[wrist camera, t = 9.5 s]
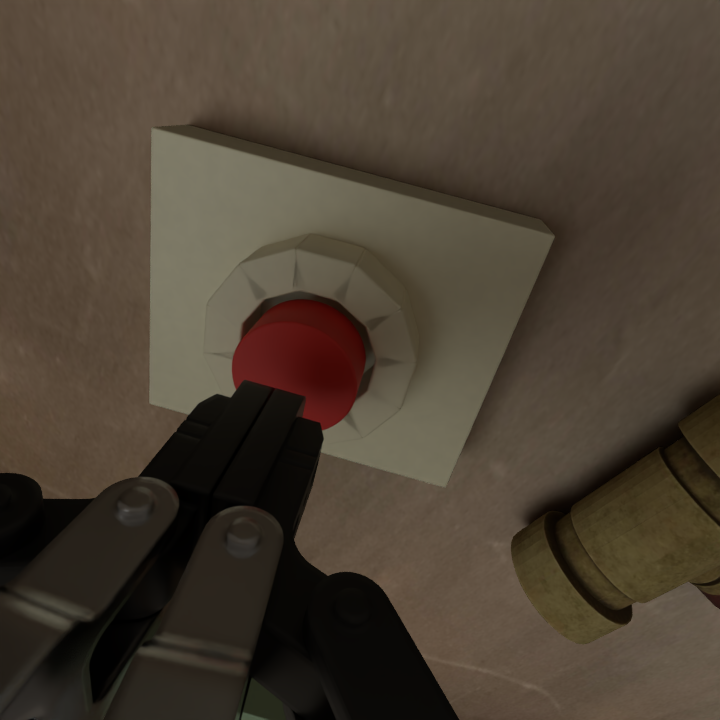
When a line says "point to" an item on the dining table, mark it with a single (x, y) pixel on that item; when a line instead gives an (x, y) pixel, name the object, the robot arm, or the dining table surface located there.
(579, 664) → the dining table surface
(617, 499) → the gavel
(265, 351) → the button
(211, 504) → the robot arm
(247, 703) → the panel
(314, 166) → the button block
